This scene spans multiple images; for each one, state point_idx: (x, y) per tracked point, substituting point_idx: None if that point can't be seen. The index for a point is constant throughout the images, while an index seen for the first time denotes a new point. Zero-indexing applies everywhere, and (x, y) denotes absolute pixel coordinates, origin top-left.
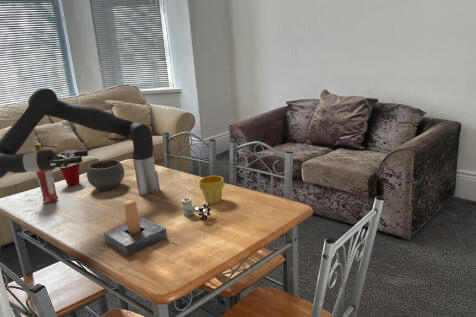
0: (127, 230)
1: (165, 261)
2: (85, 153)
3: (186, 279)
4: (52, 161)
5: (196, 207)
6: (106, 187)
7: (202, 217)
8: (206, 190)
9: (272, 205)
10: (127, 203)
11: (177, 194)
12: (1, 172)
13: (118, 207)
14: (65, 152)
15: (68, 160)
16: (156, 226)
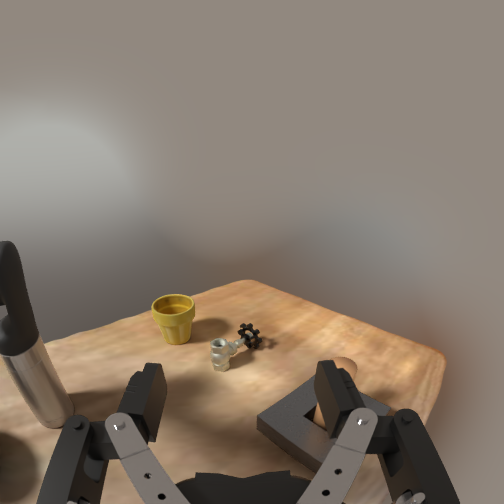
0: (322, 430)
1: (386, 372)
2: (161, 384)
3: (413, 345)
4: (452, 492)
5: (237, 341)
6: None
7: (258, 344)
8: (190, 320)
9: (229, 295)
10: (349, 368)
11: (110, 375)
12: None
13: (106, 480)
14: (178, 489)
15: (380, 417)
16: (311, 384)
